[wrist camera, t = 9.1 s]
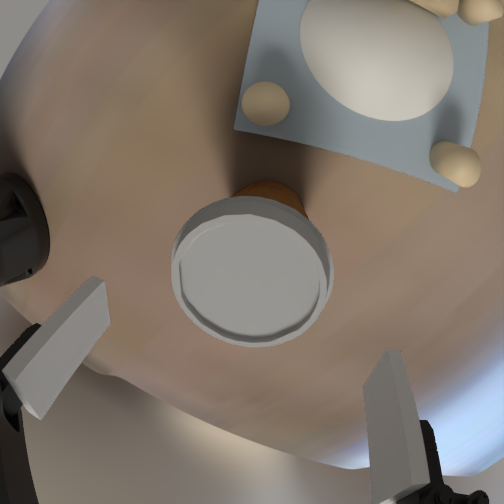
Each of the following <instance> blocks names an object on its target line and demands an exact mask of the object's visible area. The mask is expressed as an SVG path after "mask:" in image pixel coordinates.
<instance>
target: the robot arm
mask: <svg viewBox="0 0 504 504" xmlns="http://www.w3.org/2000/svg"><path fill="white" fill-rule="evenodd" d="M48 256H49V233H48V228H47V223H46V220H45V216H44V213H43V211H42V208H41V206H40V204H39V201H38V199H37V198H36V196H35V194H34V192H33V191H32V189H31V188H30V187H29V185H28V184H27V183H26V182H25V181H24V180H23V179H22V178H20V177H19V176H17V175H15V174H13V173H4V174H1V175H0V287H2V286H5V285H8V284H11V283H14V282H17V281H20V280H24V279H27V278H30V277H31V276H33V275H34V274H36V273H37V272H38V271H39V270H40V269H42V268H43V267H44V265H45V264H46V262H47V259H48ZM109 325H110V318H109V311H108V304H107V297H106V289H105V280H103V279H100V278H97V277H94V276H91V277H90V278H89V279H88V280H87V281H86V282H85V283H84V284H82V285H81V286H80V287H79V288H78V289H77V290H76V291H75V292H74V293H73V294H72V295H71V296H70V297H69V298H68V299H67V300H66V301H65V302H64V303H63V304H62V305H61V306H60V307H59V308H58V309H57V310H56V311H55V312H54V313H53V314H52V315H51V316H50V317H49V318H48V320H47V321H46V322H45V323H44V324H43V325H40V324H38V323H36V324H34V325H32V326H30V327H29V328H27V329H26V330H25V331H24V332H23V333H22V334H21V335H20V338H18V339H17V340H16V341H15V342H14V344H12V345H11V346H10V348H8V349H7V351H6V352H5V353H4V354H3V355H2V356H1V357H0V504H39V503H38V499H37V496H36V492H35V488H34V484H33V480H32V475H31V471H30V466H29V461H28V455H27V449H26V443H25V436H24V428H23V420H22V412H21V409H20V408H21V406H22V405H24V406H25V408H26V409H27V411H28V412H29V413H31V414H32V415H34V416H35V417H37V418H39V419H40V420H42V418H43V417H44V415H45V414H46V412H47V411H48V409H49V408H50V406H51V405H52V403H53V402H54V400H55V399H56V397H57V396H58V394H59V393H60V391H61V390H62V389H63V387H64V386H65V384H66V383H67V382H68V380H69V379H70V377H71V376H72V374H73V373H74V372H75V370H76V369H77V368H78V366H79V365H80V363H81V362H82V361H83V359H84V358H85V357H86V355H87V354H88V353H89V351H90V350H91V349H92V347H93V346H94V345H95V343H96V342H97V341H98V339H99V338H100V337H101V335H102V334H103V333H104V331H105V330H106V329H107V328H108V326H109ZM363 393H364V402H365V411H366V421H367V432H368V445H369V460H370V477H371V478H370V479H371V504H393V503H395V502H396V504H489V498H488V496H487V494H486V493H485V492H484V491H482V490H477V491H475V492H473V493H472V494H470V495H464V494H458V493H454V492H453V491H452V489H451V488H450V487H449V486H448V485H445V484H444V482H443V479H442V472H441V466H440V461H439V455H438V451H437V445H436V443H435V436H434V431H433V429H432V427H431V425H430V424H429V422H428V421H427V420H419V417H418V413H417V408H416V404H415V400H414V396H413V392H412V388H411V384H410V380H409V376H408V373H407V369H406V365H405V362H404V358H403V355H402V352H401V350H394V349H388V348H387V350H386V351H385V353H384V354H383V356H382V358H381V359H380V361H379V362H378V364H377V365H376V367H375V368H374V370H373V371H372V373H371V374H370V376H369V377H368V379H367V380H366V382H365V383H364V385H363Z"/></svg>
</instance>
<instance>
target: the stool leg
mask: <svg viewBox="0 0 504 504" xmlns="http://www.w3.org/2000/svg"><path fill="white" fill-rule="evenodd" d="M409 1H411V2H413V3H415V4H417V5H419V6H421V7H423V8H425V9H427V10H429V11H431V12H433V13H435V14H436V15H438V16H440V17H442V18H446V17H448V16H450V15H452V14H454V13H456V12H458V4H459V0H409Z"/></svg>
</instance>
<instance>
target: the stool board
mask: <svg viewBox="0 0 504 504" xmlns="http://www.w3.org/2000/svg"><path fill="white" fill-rule="evenodd" d="M502 15H503V6H502V4H501V1H500V0H459V4H458V12H456V13H454V14H452V15H450V16H448V17H446V18H442V17H440V16H438V15H436V14H435V13H433V12H431V11H429V10H427V9H425V8H423V7H421V6H419V5H417V4H415V3H413V2H411V1H409V0H259V3H258V8H257V12H256V17H255V21H254V26H253V30H252V35H251V40H250V45H249V49H248V54H247V59H246V64H245V69H244V74H243V80H242V85H241V90H240V95H239V101H238V106H237V112H236V117H235V123H234V129H233V130H238V131H244V132H249V133H255V134H260V135H265V136H270V137H275V138H280V139H284V140H289V141H293V142H298V143H302V144H306V145H310V146H314V147H318V148H322V149H326V150H330V151H334V152H337V153H341V154H345V155H348V156H352V157H355V158H359V159H362V160H365V161H369V162H372V163H375V164H378V165H381V166H384V167H387V168H391V169H394V170H396V171H399V172H402V173H405V174H408V175H411V176H414V177H416V178H419V179H422V180H425V181H427V182H430V183H432V184H435V185H438V186H440V187H443V188H445V189H448V190H450V191H453V192H455V193H457V192H458V189H459V186H461V187H470V186H472V185H474V184H475V183H476V182H477V180H478V179H479V177H480V174H481V161H480V158H479V156H478V154H477V153H476V152H475V151H474V150H473V149H471V144H472V140H473V136H474V132H475V127H476V123H477V118H478V113H479V108H480V102H481V97H482V90H483V84H484V76H485V68H486V58H487V46H488V27H489V21H490V20H493V19H497V18H500V17H501V16H502Z"/></svg>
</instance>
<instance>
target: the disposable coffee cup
mask: <svg viewBox="0 0 504 504" xmlns="http://www.w3.org/2000/svg"><path fill="white" fill-rule="evenodd" d="M171 266H172V272H171V280H172V285H173V290H174V293H175V296H176V298H177V301H178V303H179V304H180V306H181V308H182V309H183V311H184V312H185V313H186V314H187V316H188V317H189V318H190V319H191V320H192V322H194V323H195V324H196V325H197V326H199V327H200V328H201V329H202V330H204V331H205V332H207V333H208V334H210V335H212V336H214V337H216V338H217V339H220V340H223V341H225V342H228V343H231V344H235V345H240V346H246V347H267V346H272V345H278V344H281V343H284V342H287V341H289V340H291V339H293V338H295V337H297V336H299V335H300V334H302V333H303V332H304V331H306V330H307V329H308V328H309V327H310V326H311V325H312V324H313V323H314V322H315V320H316V319H317V317H318V316H319V314H320V312H321V311H322V309H323V308H324V306H325V305H326V303H327V301H328V299H329V297H330V295H331V291H332V286H333V282H334V267H333V262H332V256H331V253H330V250H329V248H328V246H327V243H326V242H325V240H324V238H323V236H322V234H321V233H320V232H319V231H318V230H317V228H316V227H315V226H314V225H313V224H312V222H311V221H309V219H308V216H307V215H306V213H305V210H304V208H303V206H302V204H301V202H300V199H299V197H298V196H297V195H296V194H295V192H294V191H293V190H291V189H290V188H289V187H288V186H286V185H284V184H282V183H279V182H276V181H269V180H264V181H258V182H255V183H252V184H250V185H248V186H247V187H245V188H243V189H242V190H240V191H239V192H237V193H236V194H234V195H233V196H231V197H230V198H225V199H222V200H219V201H216V202H214V203H212V204H210V205H208V206H206V207H204V208H202V209H200V210H199V211H198V212H197V213H195V214H194V215H193V216H192V217H191V218H190V219H189V220H188V221H187V222H186V223H185V224H184V226H183V227H182V229H181V230H180V232H179V233H178V235H177V238H176V240H175V243H174V245H173V250H172V257H171Z"/></svg>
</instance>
